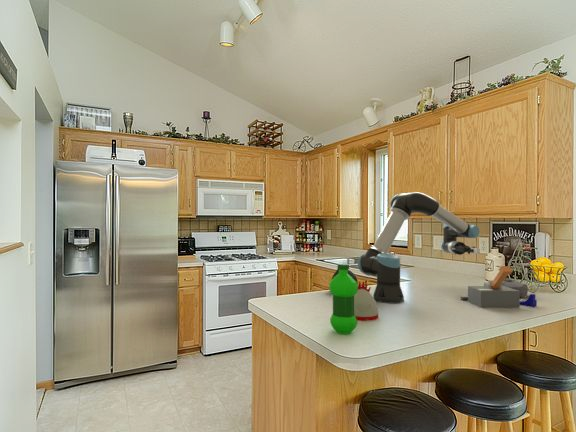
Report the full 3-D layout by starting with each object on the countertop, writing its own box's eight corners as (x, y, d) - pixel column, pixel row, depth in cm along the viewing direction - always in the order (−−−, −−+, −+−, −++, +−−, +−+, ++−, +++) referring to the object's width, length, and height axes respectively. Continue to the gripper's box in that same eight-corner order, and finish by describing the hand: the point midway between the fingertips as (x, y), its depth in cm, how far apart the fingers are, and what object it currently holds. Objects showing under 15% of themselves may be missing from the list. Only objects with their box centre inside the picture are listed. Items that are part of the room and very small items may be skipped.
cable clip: (536, 306, 164) (536, 293, 164) (533, 307, 162) (533, 294, 162) (508, 301, 174) (508, 289, 174) (505, 302, 171) (505, 290, 171)
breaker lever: (490, 290, 165) (503, 271, 154) (487, 285, 167) (500, 266, 157) (498, 290, 165) (512, 271, 154) (495, 285, 167) (509, 266, 157)
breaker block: (481, 307, 160) (480, 285, 161) (468, 301, 172) (467, 281, 173) (519, 307, 160) (519, 285, 160) (503, 301, 172) (503, 281, 172)
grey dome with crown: (343, 311, 154) (343, 278, 155) (374, 312, 154) (374, 278, 154) (348, 320, 140) (347, 284, 141) (381, 321, 140) (381, 284, 140)
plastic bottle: (331, 326, 133) (331, 262, 133) (359, 328, 130) (358, 263, 130) (327, 334, 123) (326, 265, 123) (356, 337, 120) (356, 266, 120)
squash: (363, 284, 189) (355, 262, 199) (338, 287, 186) (331, 264, 196) (356, 297, 200) (348, 275, 209) (332, 300, 196) (325, 277, 206)
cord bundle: (463, 300, 175) (463, 297, 175) (460, 299, 178) (460, 296, 178) (504, 300, 175) (504, 298, 175) (500, 299, 178) (500, 296, 178)
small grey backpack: (530, 295, 188) (490, 290, 203) (530, 280, 188) (490, 275, 203) (522, 299, 178) (480, 293, 193) (522, 283, 178) (480, 278, 193)
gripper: (468, 254, 204) (490, 258, 180) (446, 254, 204) (465, 258, 180) (468, 241, 204) (490, 244, 180) (446, 241, 204) (465, 243, 180)
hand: (478, 251), depth 180 cm, fingers closed
